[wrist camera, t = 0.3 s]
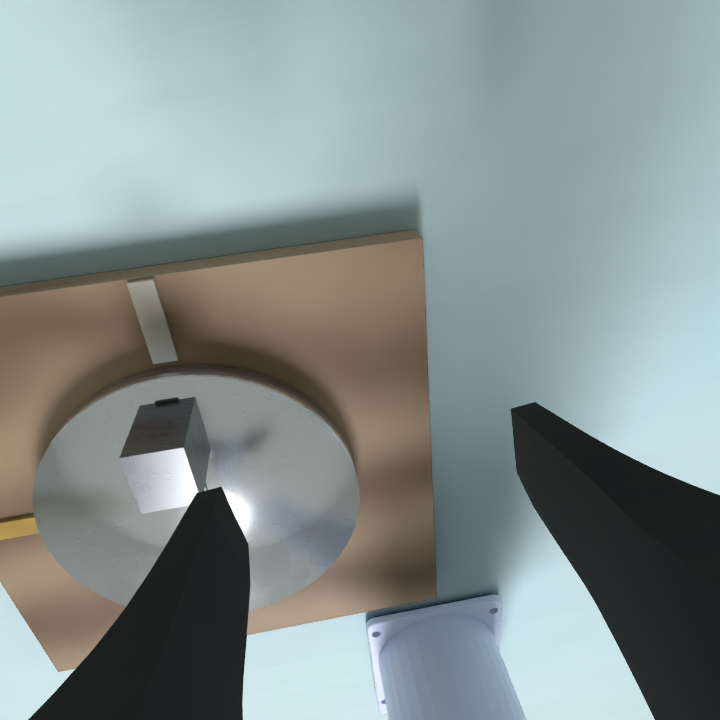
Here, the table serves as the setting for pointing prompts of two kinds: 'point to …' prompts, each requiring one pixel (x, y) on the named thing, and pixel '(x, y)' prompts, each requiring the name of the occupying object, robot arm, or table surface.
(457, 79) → the table surface
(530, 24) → the table surface
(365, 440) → the plate
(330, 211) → the table surface
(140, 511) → the dial
